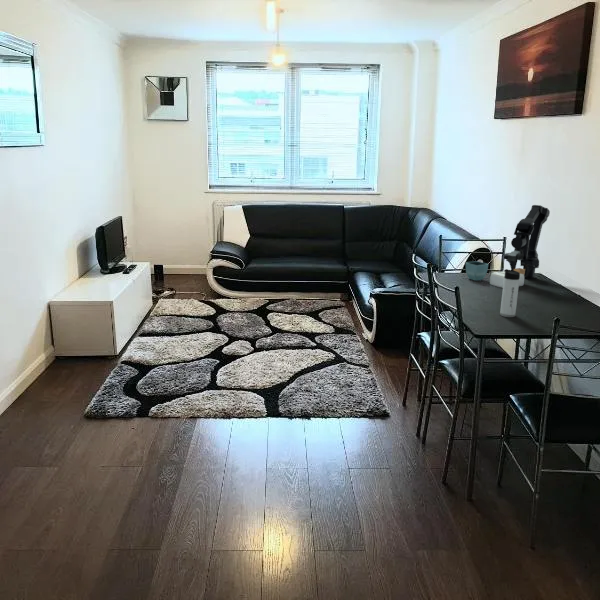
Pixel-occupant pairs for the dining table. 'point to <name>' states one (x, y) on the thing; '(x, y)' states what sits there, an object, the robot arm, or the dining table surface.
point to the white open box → (500, 281)
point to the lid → (502, 274)
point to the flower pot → (476, 270)
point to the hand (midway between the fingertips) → (519, 274)
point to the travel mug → (510, 293)
